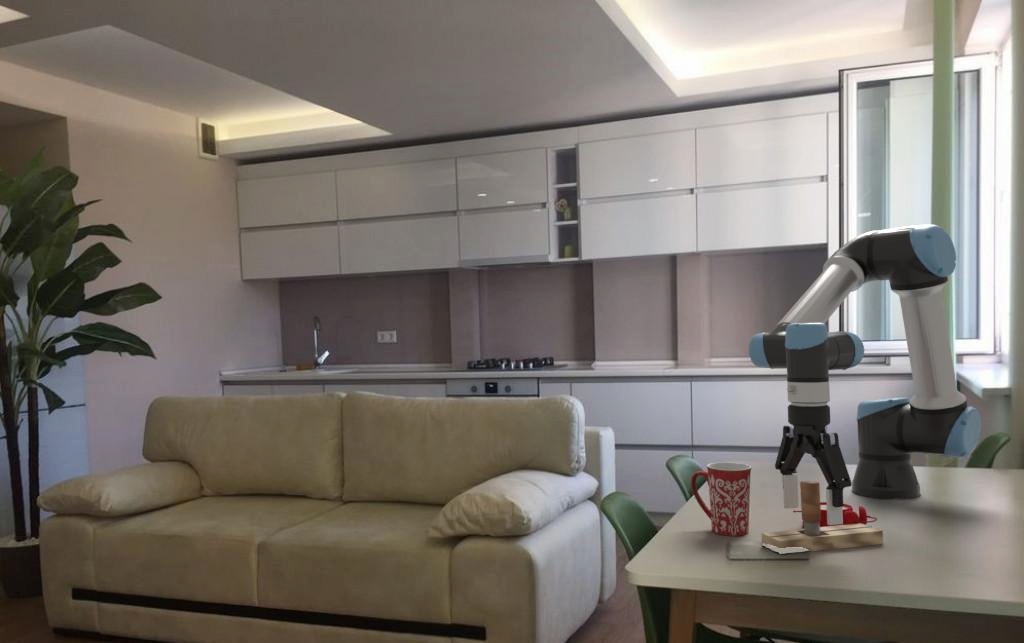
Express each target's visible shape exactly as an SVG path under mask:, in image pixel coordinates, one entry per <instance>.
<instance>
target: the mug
mask: <svg viewBox="0 0 1024 643" xmlns="http://www.w3.org/2000/svg"><path fill="white" fill-rule="evenodd" d="M706 468H707V469H706V470H707V471H705V470H704V471H703V470H698V471H696V472H695V473H693V474H692V476H691V479H690V485H691V486H690V487H691V492H692V495H693V496H694V498H695V500H696V501H697V503H698V506H699V507H700V508H701V509H702V511H703V512H704V513H705V515H706V516H707V517H708V518H709V520H710V522H711V523H710V524H711V531H712V532H713V533H715V534H718V535H722V536H728V537H729V536H730V537H734V536H738V537H739V536H744V535H746V534H748V533H749V530H750V529H749V525H750V499H751V497H750V493H751V471H752V466H751V465H749V464H747V463H741V462H727V461H724V462H723V461H720V462H712V463H708V464H707V465H706ZM698 476H702V477H703V478H704V479H705V480H706V483H707V486H708V491H709V506H710V508H709V507H708V506H707V504H706V503H705V502H704V500H703V499H702V497H701V495H700V494H699V491H698V489H697V482H696V481H697V478H698Z"/></svg>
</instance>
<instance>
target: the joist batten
mask: <svg viewBox="0 0 1024 643" xmlns="http://www.w3.org/2000/svg"><path fill="white" fill-rule="evenodd" d="M883 536H884V533H883V530H882V529H879V528H876V527H874V526H872V525H867V524H866V525H865V524H862V523H860V522H859V523H858V524H848V525H838V526H828V527H820V536H812V537H809V536H807V535H804V528H801V529H799V528H798V529H789V530H779V531H777V530H776V531H771V532H770V531H769V532H761V544H762V543H765V544H770V545H773V546H776V547H778V548H786V547H803V548H806V549H808V550H809V551H810V552H820V551H829V550H838V549H849V548H855V547H856V548H857V547H865V546H874V545H876V546H877V545H883V544H884V537H883ZM810 552H809V553H810Z"/></svg>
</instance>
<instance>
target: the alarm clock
mask: <svg viewBox="0 0 1024 643" xmlns="http://www.w3.org/2000/svg"><path fill="white" fill-rule="evenodd" d="M820 507H821V521H819V522H820V527H828V526H838V525H848V524H858V523H862V524H865V525H867V524H868V523H874V522H877V521H878V518H876V517H874V516H871V515H868V512H867V509H866V508H865V507H864V506H863V505H859V506H858V514H857V512H856V511H854V509H853V506H852V505H851V504H846V503H843V507H842V511H843V524H837V525H828V524H827V501H826V502H824V501H820ZM792 513H802V510H794V509H793V511H792ZM868 519H873V520H868ZM801 522H802V525H803V526H804V520H802V521H801Z"/></svg>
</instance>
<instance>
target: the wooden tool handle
mask: <svg viewBox="0 0 1024 643" xmlns="http://www.w3.org/2000/svg"><path fill="white" fill-rule="evenodd" d="M799 484H800V486H799V487H800V502H801V503H800V504H801V505H800V507H801V511H802V512H801V520H802V521H803V520H804V525H803V529H804V535H807V536H809V537H812V536H820V522H819V521H821V507H820V502H821V494H820V493H821V492H820V491H821V490H820V482H819V481H815V480H802V481H800V482H799Z"/></svg>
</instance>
